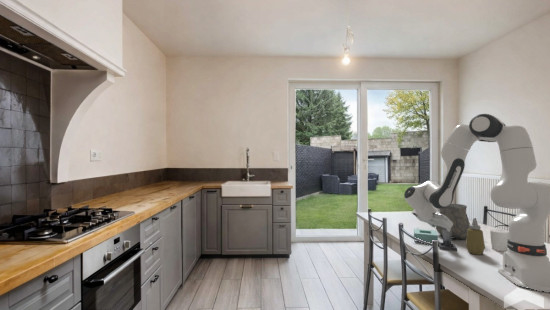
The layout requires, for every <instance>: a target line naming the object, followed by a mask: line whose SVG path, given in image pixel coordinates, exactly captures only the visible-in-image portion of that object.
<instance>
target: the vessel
mask: <svg viewBox="0 0 550 310" xmlns="http://www.w3.org/2000/svg"><path fill="white" fill-rule="evenodd" d="M467 208H468V206H467V205H466V204H462V203H461V204H460V203H451V205H450V206H448V207H446V208H443V209H439V212H438V214H443V215H445V216H446V217H447V218H449V219H450V220H451V221H452V223H453V226H452V227H451V239H455V240H456V239H458V240H461V239H462V240H463V239H467V229H469V228H470V224H471V223H470V221H469V217H468V213H467ZM435 231H436V232H437V234H440V235H441V236H443V227H440V226H435Z"/></svg>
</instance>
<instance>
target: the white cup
mask: <svg viewBox="0 0 550 310" xmlns="http://www.w3.org/2000/svg"><path fill="white" fill-rule="evenodd" d="M489 234H490V235H489V236H490V244H491V249H492V250H494V251H498V252H503V253H504V252H506V251H507V250H508V247H507V242H508V239H509V230H506V229H505V230H504V229H498V228H490V230H489Z"/></svg>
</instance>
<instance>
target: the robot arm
mask: <svg viewBox="0 0 550 310" xmlns="http://www.w3.org/2000/svg"><path fill="white" fill-rule="evenodd" d="M477 141H479V142H484V143H485V142H487V143H497V144H498V148H499V149H498V150H499V155H500V159H501V175H500V178H499V180H498V182H497V183H496V184H494V185H493V186H492V188H491V190H490V199H491V200H492V203H494V205H495V206H497V207H500V208H503V209H510V210H519V211H518V212H517V214H516V215H515V216H513V217H512V218H510V220H509V221H508V232H509V239H508V242H507V247H508V250H507V251H506V252H504V251H503V253H502V254H503V255H502V268H499V269H498V270H497V272H498V273H499V274H500V275H502V276H503V277H504V278H506V279H507V280H508V281H510V282H511V283H513V284H514V283H515V284H516V285H515V284H514V285H515V286H517V285H518V286H517V287H519V286H523V287H528V288H531V289H534V290H533V291H536V290H537V292H542V291H544V292H543V293H549V292H550V259H549V257H548V256H547V255H548V252H547V251H548V250H547V247H546V244H545V226H546V223H547V220H548V217H549V216H550V183H546V182H537V181H534V182H533V181H532V182H528V180H529V178H528V177H529V174H530V173H531V172H533V171H535V169H536V168H537V161H536V156H535V152H534V147H533V143H532V140H531V137H530V134H529V133H528V131H527V128H525V127H524V126H521V125H506V124H505V123H504V122H503V121H502V120H501V119H500V118H498V117H496V116H495V115H492V114H489V113H481V114H476V115H475V116H474V117H473V118H471V120H470V122H469V123H468V124H466V123H465V124H458V125H457V126H455V127H454V128H453V129H452V131H451V132H450V133H449V134H448V137H447V138H446V140H445V141H444V144H443V146H442V147H441V151H440V155H441V158H442V161H444V163H445V165H446V173H445V176H444V179H443V181H442V182H441V185H440V184H438V183H437V182H436V181H434V180H426V181H424V182H422V183H421V184H419V185H413V186H409V187H407V189H405V191H404V194H403V196H404V199H405V201H406V202H407V204H408V205H409V206H410V207H411V208H412V209H413V210H412V212H411V215H413V216H414V217H416V219H417V220H418V221H420V222H423V223H426V224H428V225H429V226H431V228H436V226H440V227H443V228H446V229H445V230H446V231H448V232H450V230H451V229H450V228H451V227H452V226H453V223H452V221H451V220H450V219H449V218H447V217H446V216H445V215H443V214H439V212H437V209H439V210H440V209H443V208H446V207H448V206H450V205H451V204H453V201H454V197H455V191H456V190H457V187H458V184H459V182H460V181H461V177H462V175H463V173H464V170H465V167H466V166H465V165H466V164H465V163H466V158H467V156H468V153H469V152H470V151H471V148H472V146H473V145H474V143H476V142H477ZM531 289H530V290H531Z"/></svg>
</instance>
